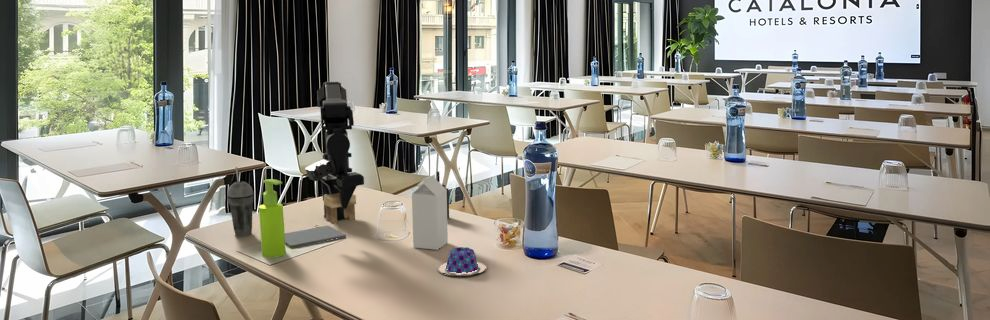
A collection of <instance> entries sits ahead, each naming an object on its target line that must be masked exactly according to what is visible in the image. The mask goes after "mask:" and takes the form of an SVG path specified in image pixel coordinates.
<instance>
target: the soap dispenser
mask: <svg viewBox="0 0 990 320" xmlns="http://www.w3.org/2000/svg"><path fill="white" fill-rule="evenodd" d="M262 183H263V184H265V189H266V191H265V190H264V192H263V193H262V195H263V197H262V199H263V204H261V205H259V206H258V211H259V212H258V214H259V215H258V216H259V226H260V227H259V228H260V240H261V241H260V242H261V254H262V257H264V258H270V259H271V258H273V259H274V258H280V257H283V256H285V255H286V254H287V253H286V252H287V249H286V245H285V233H286V232H285V222H284V221H285V218H284V207H283V204H282V203H279V202H278V192H277V191H275V190H274V185H275V186H279V185H282V184H283V181H281V180H279V179H275V178H274V179H273V178H270V179H269V178H268V179H264V180H262Z"/></svg>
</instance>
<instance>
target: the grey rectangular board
mask: <svg viewBox="0 0 990 320" xmlns="http://www.w3.org/2000/svg"><path fill="white" fill-rule="evenodd" d="M284 233H285V246H286V247H288V248H289V249H294V248H295V249H296V248H301V247H305V246H310V245H315V244H314V243H316V244H320V243H319V242H321V243H324V242H323V241H326V242H328V241H327V240H331V239H336V238H341V239H345V237H346V238H347V235H346V234H345V233H344V232H341V230H340V231H339V230H338V229H336V228H334V227H332V226H331V225H324V226H319V227H318V226H317V227H312V228H307V229H302V230H297V231H290V232H284ZM336 240H337V239H336ZM331 241H332V240H331Z"/></svg>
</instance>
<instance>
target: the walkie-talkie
mask: <svg viewBox="0 0 990 320" xmlns="http://www.w3.org/2000/svg"><path fill="white" fill-rule="evenodd" d="M436 180H437V181H438V182H439V183H440V184H441V182H440V171H436ZM441 185H442V186H443V187H444V188H445V189H446V190H447V219H449V218H450V193H449V190H450V188H447V187H446V185H445V184H441Z"/></svg>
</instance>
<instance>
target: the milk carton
mask: <svg viewBox="0 0 990 320" xmlns="http://www.w3.org/2000/svg"><path fill="white" fill-rule="evenodd" d="M442 185H443V184H441V182H440V183H439V182H438V181H437V178H436V175H435V174H432V175H430V176H427V177H426V178H424V179H423V180H421V181H420V182H418V183H417V187H418V188H417V189H415V190H414V191H413V192H412V193H411V206H412V207H411V213H412V239H413V240H412V243H413V245H412V247H413V248H414V249H415V248H416V249H426V250H433V251H439V250H440V249H441V248H443V247H444V246H445V245H446V244H448V242H449V240H448V236H449V235H448V218H447V190H446V189H445V188H446V187H445V188H444V187H443V186H442ZM439 248H440V249H439Z"/></svg>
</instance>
